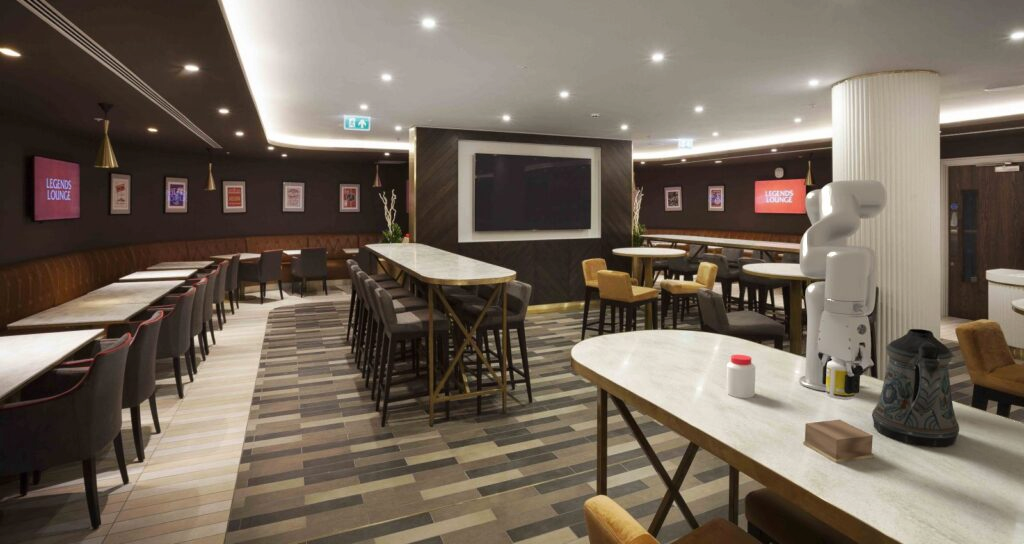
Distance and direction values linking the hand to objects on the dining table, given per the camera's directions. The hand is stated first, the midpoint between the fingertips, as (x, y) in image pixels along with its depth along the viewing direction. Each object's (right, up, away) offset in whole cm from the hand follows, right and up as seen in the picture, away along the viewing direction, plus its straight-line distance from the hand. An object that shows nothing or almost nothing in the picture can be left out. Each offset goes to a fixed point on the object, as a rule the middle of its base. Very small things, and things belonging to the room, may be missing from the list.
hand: (840, 387), depth 117 cm
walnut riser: (0, -14, +2) cm, 15 cm away
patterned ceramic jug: (+23, -13, +8) cm, 28 cm away
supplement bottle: (0, -2, 0) cm, 2 cm away
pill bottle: (-5, -10, +39) cm, 41 cm away
